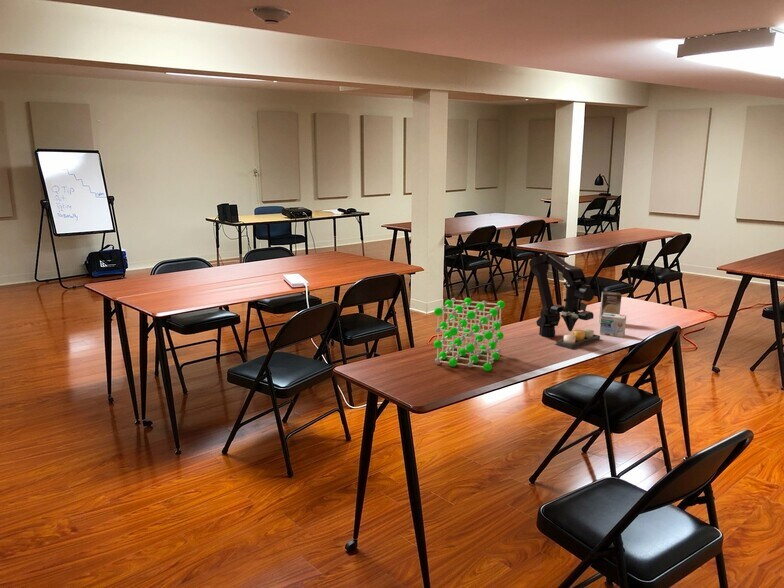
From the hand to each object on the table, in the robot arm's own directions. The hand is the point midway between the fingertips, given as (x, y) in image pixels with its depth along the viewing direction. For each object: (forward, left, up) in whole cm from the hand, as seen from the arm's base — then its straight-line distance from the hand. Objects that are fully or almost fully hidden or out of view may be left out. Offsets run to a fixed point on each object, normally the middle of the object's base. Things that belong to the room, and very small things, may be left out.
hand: (570, 331), depth 266 cm
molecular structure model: (-18, -45, -8) cm, 49 cm away
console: (0, +7, -8) cm, 11 cm away
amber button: (0, +7, -5) cm, 9 cm away
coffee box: (-12, +51, -8) cm, 52 cm away
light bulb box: (+2, +31, -8) cm, 32 cm away
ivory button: (0, 0, -6) cm, 6 cm away
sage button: (0, +14, -6) cm, 15 cm away
